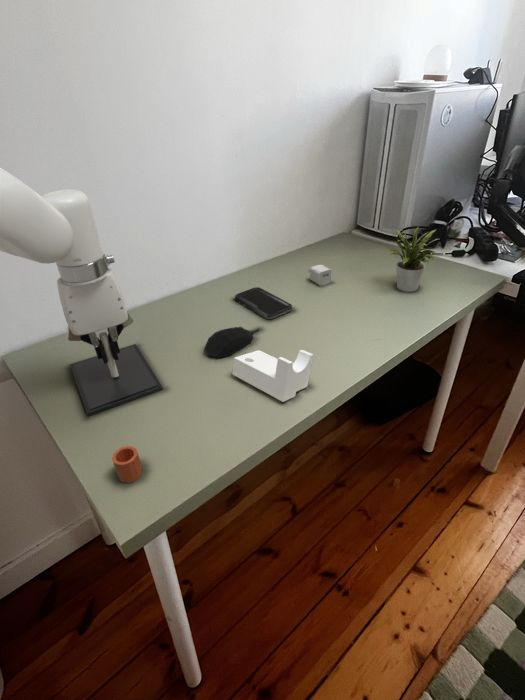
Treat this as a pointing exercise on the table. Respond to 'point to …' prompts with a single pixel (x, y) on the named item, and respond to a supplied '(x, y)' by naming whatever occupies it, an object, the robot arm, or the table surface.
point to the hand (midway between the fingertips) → (109, 357)
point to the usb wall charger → (320, 274)
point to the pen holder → (127, 464)
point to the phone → (263, 303)
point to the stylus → (109, 354)
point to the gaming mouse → (228, 341)
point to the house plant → (412, 261)
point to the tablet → (114, 380)
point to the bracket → (274, 373)
